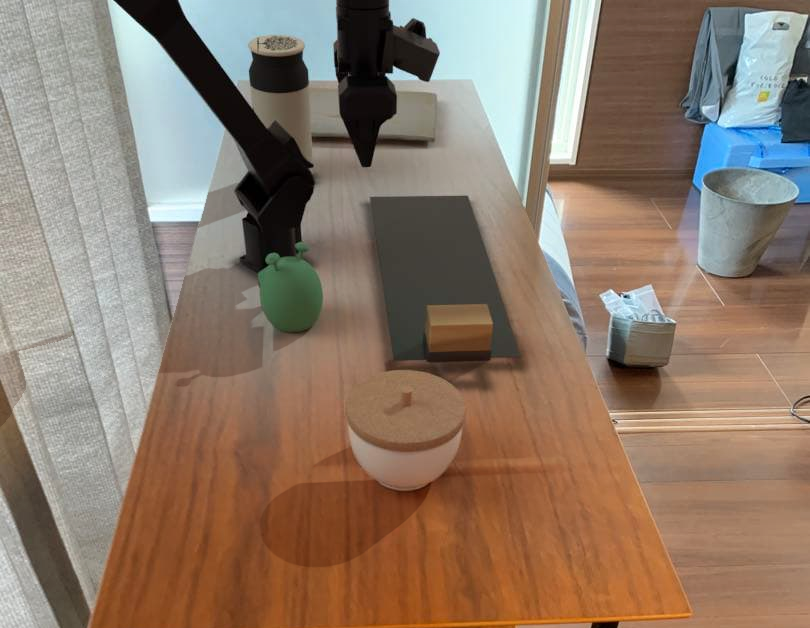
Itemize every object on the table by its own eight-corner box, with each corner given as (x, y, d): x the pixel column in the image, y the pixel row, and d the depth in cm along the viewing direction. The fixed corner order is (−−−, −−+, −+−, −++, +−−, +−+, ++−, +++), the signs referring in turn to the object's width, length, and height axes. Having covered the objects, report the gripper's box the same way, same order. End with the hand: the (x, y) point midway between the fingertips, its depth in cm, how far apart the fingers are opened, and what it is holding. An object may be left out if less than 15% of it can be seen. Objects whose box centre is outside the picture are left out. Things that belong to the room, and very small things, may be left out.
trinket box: (373, 422, 84) (373, 343, 77) (474, 450, 81) (483, 370, 74) (328, 489, 77) (324, 408, 70) (437, 521, 74) (443, 441, 67)
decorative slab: (267, 142, 131) (266, 129, 130) (282, 94, 146) (281, 82, 144) (438, 148, 132) (439, 135, 130) (436, 100, 146) (436, 88, 145)
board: (519, 365, 91) (521, 356, 90) (393, 369, 90) (393, 360, 89) (467, 203, 118) (467, 195, 118) (369, 204, 117) (369, 196, 116)
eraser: (490, 360, 90) (495, 323, 86) (426, 362, 89) (428, 325, 86) (484, 339, 92) (489, 303, 89) (422, 341, 92) (424, 305, 89)
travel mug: (316, 169, 125) (309, 35, 112) (310, 192, 119) (303, 54, 106) (263, 167, 125) (250, 32, 112) (255, 190, 119) (241, 51, 106)
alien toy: (292, 304, 99) (286, 223, 91) (337, 329, 95) (334, 247, 88) (246, 326, 95) (236, 244, 88) (291, 353, 92) (284, 270, 84)
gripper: (447, 29, 84) (438, 183, 95) (426, -20, 96) (421, 121, 108) (337, 28, 83) (341, 184, 94) (331, -21, 95) (335, 122, 107)
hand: (363, 150), depth 101 cm, fingers open, 9 cm apart
